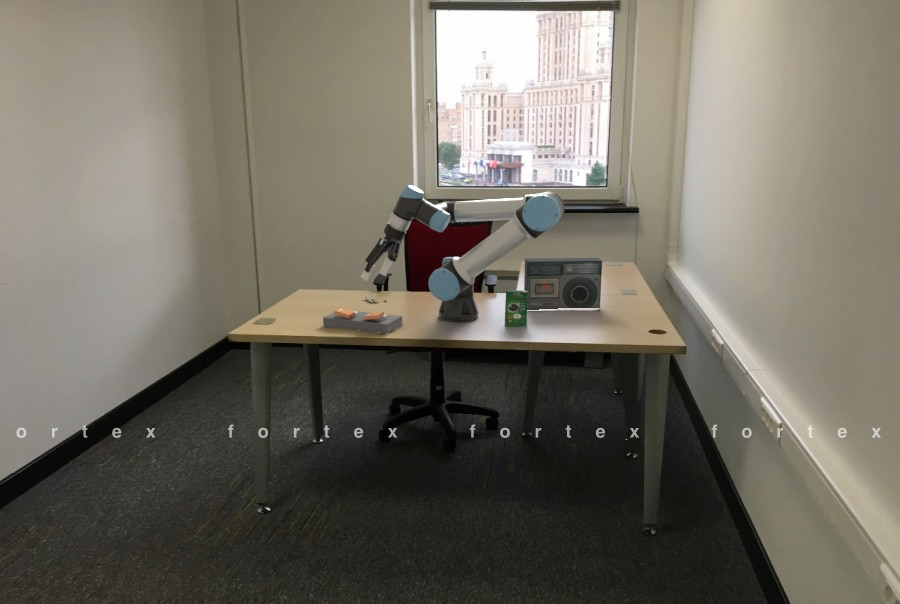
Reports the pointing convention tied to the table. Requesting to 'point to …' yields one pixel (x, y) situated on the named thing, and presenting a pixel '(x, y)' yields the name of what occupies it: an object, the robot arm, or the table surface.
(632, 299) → the table surface
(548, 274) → the cassette player
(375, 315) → the rocker
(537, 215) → the robot arm
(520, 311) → the coffee box
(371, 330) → the grey rectangular block
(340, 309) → the rocker
